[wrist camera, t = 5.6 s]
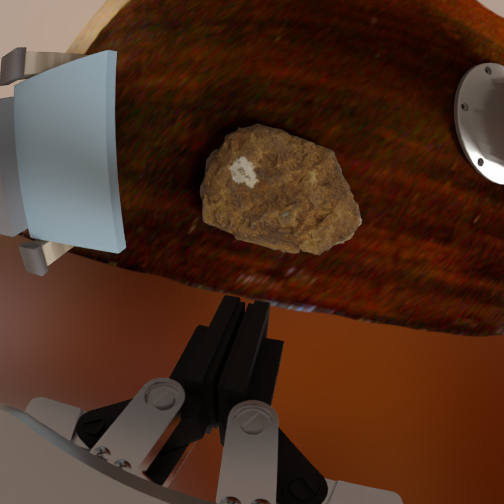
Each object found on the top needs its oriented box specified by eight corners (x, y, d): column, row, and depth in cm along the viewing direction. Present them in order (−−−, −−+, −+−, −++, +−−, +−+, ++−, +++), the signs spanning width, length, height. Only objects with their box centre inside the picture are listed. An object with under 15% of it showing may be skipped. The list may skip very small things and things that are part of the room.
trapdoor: (133, 54, 15) (87, 46, 11) (139, 236, 22) (103, 267, 17) (16, 92, 18) (-22, 99, 13) (29, 222, 24) (-3, 242, 20)
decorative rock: (377, 157, 24) (223, 116, 26) (387, 161, 20) (208, 114, 22) (341, 264, 29) (203, 224, 31) (344, 284, 25) (187, 238, 27)
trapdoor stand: (112, 54, 23) (18, 46, 11) (118, 220, 32) (43, 276, 20) (92, 59, 23) (0, 58, 12) (99, 218, 32) (25, 270, 21)
